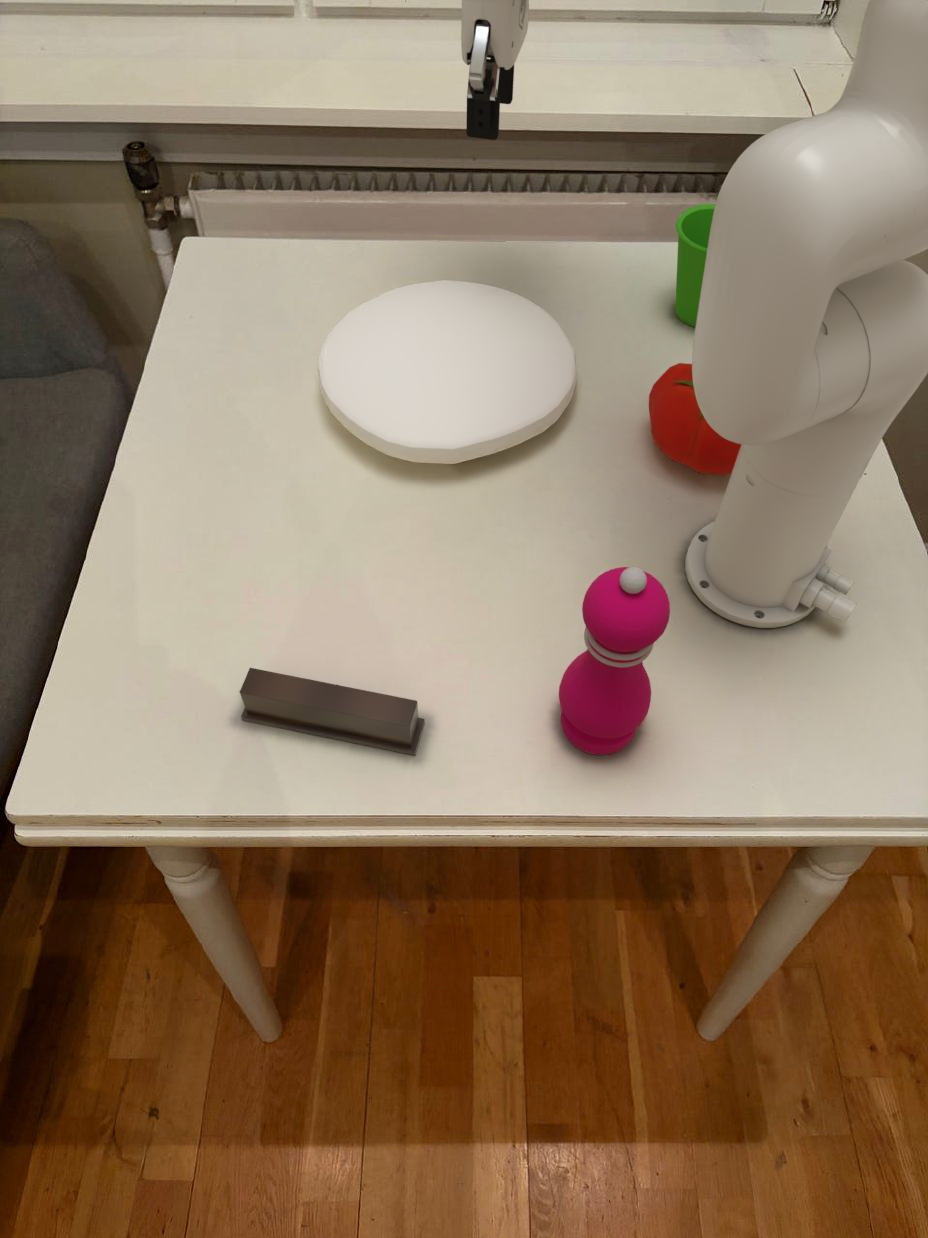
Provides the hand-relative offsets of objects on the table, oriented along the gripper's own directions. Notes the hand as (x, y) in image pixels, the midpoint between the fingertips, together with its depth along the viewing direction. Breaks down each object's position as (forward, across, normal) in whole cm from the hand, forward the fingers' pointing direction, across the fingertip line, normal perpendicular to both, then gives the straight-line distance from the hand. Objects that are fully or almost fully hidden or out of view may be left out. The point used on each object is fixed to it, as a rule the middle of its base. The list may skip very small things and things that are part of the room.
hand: (489, 117), depth 97 cm
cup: (+20, 0, -25) cm, 32 cm away
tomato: (+20, -22, -27) cm, 40 cm away
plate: (+20, -19, 0) cm, 27 cm away
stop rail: (+20, -61, 0) cm, 64 cm away
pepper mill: (+20, -56, -21) cm, 63 cm away
